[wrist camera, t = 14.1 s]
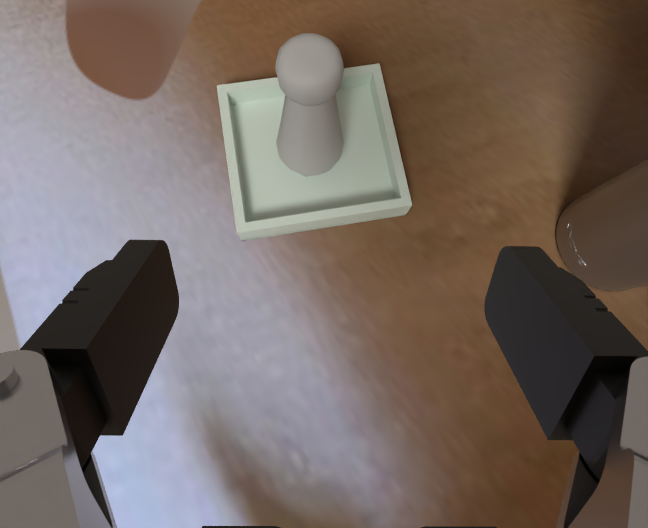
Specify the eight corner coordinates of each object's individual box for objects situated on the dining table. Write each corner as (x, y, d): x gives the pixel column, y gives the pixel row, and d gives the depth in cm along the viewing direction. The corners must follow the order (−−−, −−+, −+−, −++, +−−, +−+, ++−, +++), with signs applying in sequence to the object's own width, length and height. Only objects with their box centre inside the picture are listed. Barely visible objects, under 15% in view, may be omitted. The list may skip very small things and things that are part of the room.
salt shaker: (278, 185, 36) (259, 96, 24) (278, 127, 37) (261, 14, 25) (342, 185, 36) (358, 97, 24) (341, 127, 38) (355, 15, 25)
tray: (375, 81, 39) (379, 63, 37) (405, 214, 37) (412, 205, 34) (222, 102, 39) (216, 85, 36) (242, 241, 36) (236, 233, 33)
